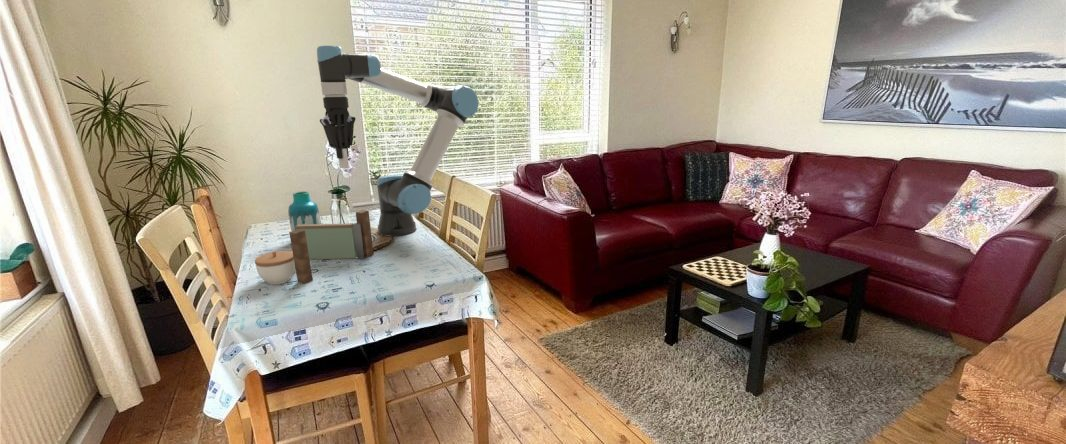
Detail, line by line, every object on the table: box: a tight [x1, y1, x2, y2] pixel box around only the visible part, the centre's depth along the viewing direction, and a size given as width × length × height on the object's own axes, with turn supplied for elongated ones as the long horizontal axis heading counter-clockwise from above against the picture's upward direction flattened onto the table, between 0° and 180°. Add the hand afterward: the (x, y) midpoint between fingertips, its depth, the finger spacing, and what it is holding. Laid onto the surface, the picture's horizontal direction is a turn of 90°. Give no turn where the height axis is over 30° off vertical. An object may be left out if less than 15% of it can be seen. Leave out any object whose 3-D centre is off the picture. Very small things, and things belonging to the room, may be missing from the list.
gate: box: [295, 222, 365, 260], centre depth 157 cm, size 21×2×12 cm, turn 93°
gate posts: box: [288, 209, 375, 285], centre depth 149 cm, size 28×3×16 cm, turn 153°
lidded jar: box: [254, 250, 296, 286], centre depth 140 cm, size 11×11×9 cm
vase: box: [288, 190, 322, 232], centre depth 175 cm, size 11×11×19 cm
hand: (344, 167), depth 157 cm, fingers closed
